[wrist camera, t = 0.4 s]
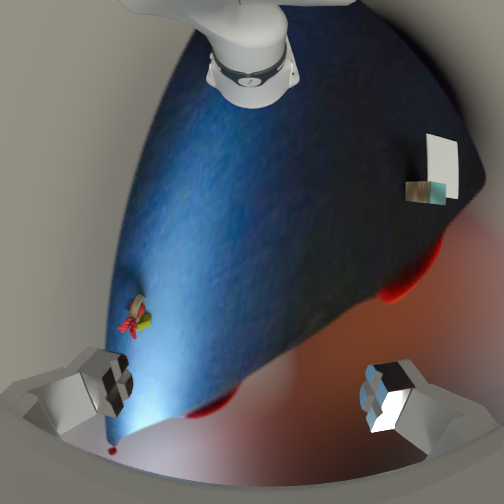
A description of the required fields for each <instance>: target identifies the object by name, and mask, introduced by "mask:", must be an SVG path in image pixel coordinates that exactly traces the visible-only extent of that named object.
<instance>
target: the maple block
mask: <svg viewBox="0 0 504 504" xmlns="http://www.w3.org/2000/svg"><path fill="white" fill-rule="evenodd" d="M405 200H407V201H415V202H424V203H433V204H442V205H445V204H446V184H443V183H438V182H432V181H420V182H406V198H405Z"/></svg>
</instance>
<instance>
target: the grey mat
mask: <svg viewBox="0 0 504 504" xmlns="http://www.w3.org/2000/svg"><path fill="white" fill-rule="evenodd" d="M426 146H427V181H432V182H438V183H443V184H446V197H449V198H455V199H458V151H457V142H455V141H452V140H448V139H445V138H441V137H438V136H434V135H430V134H426Z"/></svg>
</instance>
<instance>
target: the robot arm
mask: <svg viewBox="0 0 504 504" xmlns="http://www.w3.org/2000/svg"><path fill="white" fill-rule="evenodd" d="M354 1H356V0H119V2H120V3H121V4H122V5H123V6H124V7H125V8H127V9H128V10H130V11H131V12H133V13H135V14H139V15H154V16H162V17H167V18H170V19H174V20H177V21H180V22H183V23H185V24H188V25H190V26H191V27H193V28H195V29H197V30H199V31H200V32H202V33H203V34H204V35H206V37H207V38H208V40H209V42H210V43H211V45H212V53H211V54H210V59H212V61H211V64H209V70H208V74H207V77H206V80H207V83H208V84H210V85H211V86H213V87H215V88H217V89H218V90H219V91H220V92H221V94H222V95H223V96H224V97H225V98H226V99H227V100H228V101H229V102H231V103H233V104H235V105H237V106H240V107H244V108H261V107H265V106H268V105H270V104H272V103H274V102H275V101H277V100H278V99H279V98H280V97H281V96H282V95H283V94H284V93H285V91H286V90H287V89H288V88H290V87H292V86H294V85H296V84H297V83H298V82H299V74H298V70H297V67H296V63H295V60H294V57H293V53H292V50H291V47H290V44H289V40H288V37H287V27H288V23H287V18H286V16H285V14H284V12H283V11H282V9H281V8H280V7H279V6H278V5H294V6H339V5H349V4H351V3H353V2H354ZM292 73H294V75H292ZM128 365H129V362H128V359H127V356H126V355H124V354H122V353H117V352H113V351H109V350H105V349H99V348H96V347H92V346H90V347H87V348H86V349H85V350H84V351H83V352H82V353H80V355H78V356H77V357H76V358H75V359H74V360H73V361H72V362H71V363H70V364H69V365H68V366H67V367H66V368H64V367H61V368H58V369H55V370H52V371H49V372H46V373H42V374H39V375H36V376H33V377H29V378H26V379H23V380H19V381H16V382H13V383H12V384H11V385H10V386H9V387H8V388H7V389H5V390H4V391H3V392H2V393H1V394H0V504H504V423H503V424H501V425H500V426H499V425H498V424H497V423H496V422H495V420H494V419H493V418H492V416H491V415H490V414H489V413H488V411H487V410H486V409H485V408H484V406H482V405H480V404H477V403H475V402H473V401H470V400H468V399H466V398H463V397H461V396H458V395H456V394H454V393H451V392H449V391H447V390H445V389H442V388H440V387H438V386H435V385H433V384H431V385H429V384H428V383H427V382H426V380H425V379H424V378H423V376H422V375H421V374H420V372H419V371H418V370H417V368H416V367H415V366H414V365H413V363H412V362H411V361H410V360H408V359H405V360H400V361H395V362H390V363H382V364H374V365H369V366H368V368H367V370H366V373H365V375H366V377H367V380H366V381H365V382H364V384H362V387H361V391H360V403H361V407H362V409H363V410H364V411H366V412H368V415H367V418H366V419H367V422H368V424H369V427H370V429H371V432H374V431H380V430H385V429H391V428H394V430H396V431H397V432H398V433H400V434H401V435H402V436H403V437H405V438H406V439H407V440H409V441H410V442H412V443H413V444H414V445H415V446H417V447H418V448H419V449H421V450H422V451H424V452H425V453H426V454H428V456H427V458H426V459H425V461H422V462H420V463H417V464H414V465H410V466H407V467H404V468H401V469H397V470H394V471H390V472H386V473H382V474H378V475H373V476H369V477H365V478H359V479H354V480H349V481H342V482H335V483H327V484H319V485H308V486H292V487H247V486H231V485H220V484H211V483H203V482H197V481H191V480H185V479H179V478H174V477H169V476H165V475H160V474H156V473H152V472H148V471H144V470H141V469H137V468H134V467H131V466H127V465H124V464H121V463H118V462H115V461H112V460H109V459H106V458H103V457H101V456H98V455H96V454H93V453H91V452H88V451H86V450H84V449H81V448H79V447H77V446H75V445H72V444H70V443H68V442H66V441H64V440H63V439H62V438H61V436H60V434H62V433H64V432H66V431H67V430H69V429H71V428H73V427H75V426H76V425H78V424H80V423H81V422H83V421H85V420H87V419H88V418H90V417H92V416H93V415H95V414H96V413H100V414H103V415H107V416H110V417H114V418H117V417H118V415H119V414H120V412H121V410H122V409H123V407H124V404H123V401H124V400H126V399H128V398H129V397H130V395H131V394H132V390H133V377H132V374H131V373H130V372H129V371H128V369H127V367H128Z"/></svg>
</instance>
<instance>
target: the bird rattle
mask: <svg viewBox="0 0 504 504" xmlns="http://www.w3.org/2000/svg"><path fill="white" fill-rule="evenodd" d="M144 302H145V297H144V296H143V295H141V294H138V295H137V296H136V298H135V300H134V301H133V302H132V303H131V304H130V312H129V314H128V316H127V317H126V319H125V321H124V323H123V324H122V325H119V326H118V327H117V329H119V330H121V332H122V333H123V332H125V331H127V329H128V328H129V332H130V334H131V336H132V337H133V338H134V339H136V338H137V337H136V332H135V331H136V329H137V330H138V331H139V332H140V331H142V330H143V329H144V328H146V327H148V326H150V325H151V322H150V319H151V315H149V314H148V313H147V314H144V315H142V314H143V313H144V312H145V305H144Z"/></svg>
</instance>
